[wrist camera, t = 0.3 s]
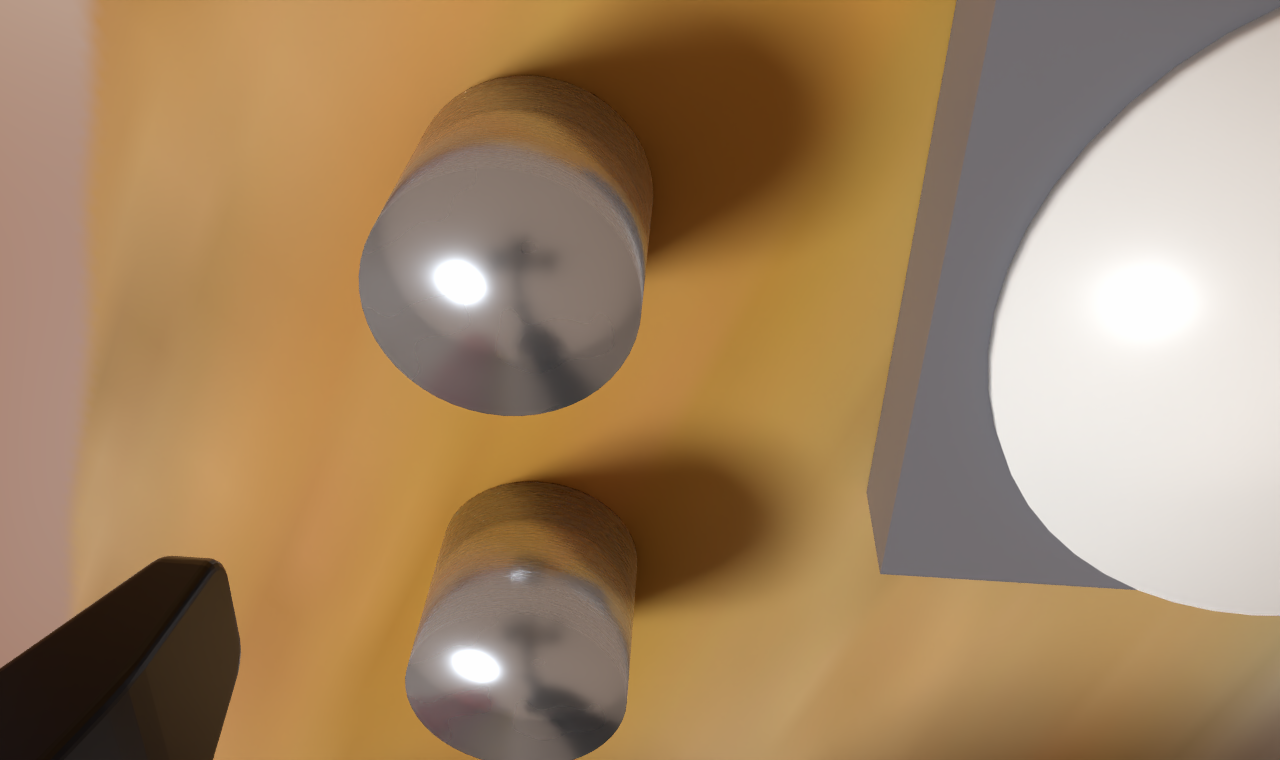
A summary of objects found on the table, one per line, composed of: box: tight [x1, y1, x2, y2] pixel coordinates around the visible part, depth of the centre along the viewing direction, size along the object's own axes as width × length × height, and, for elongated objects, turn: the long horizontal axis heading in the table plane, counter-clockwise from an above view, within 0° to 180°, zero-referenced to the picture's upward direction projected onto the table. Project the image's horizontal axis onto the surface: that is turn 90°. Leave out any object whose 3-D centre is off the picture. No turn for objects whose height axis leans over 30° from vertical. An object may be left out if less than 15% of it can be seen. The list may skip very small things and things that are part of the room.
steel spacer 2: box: [405, 482, 637, 760], centre depth 25 cm, size 4×4×4 cm
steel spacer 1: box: [359, 75, 653, 416], centre depth 20 cm, size 4×4×4 cm
